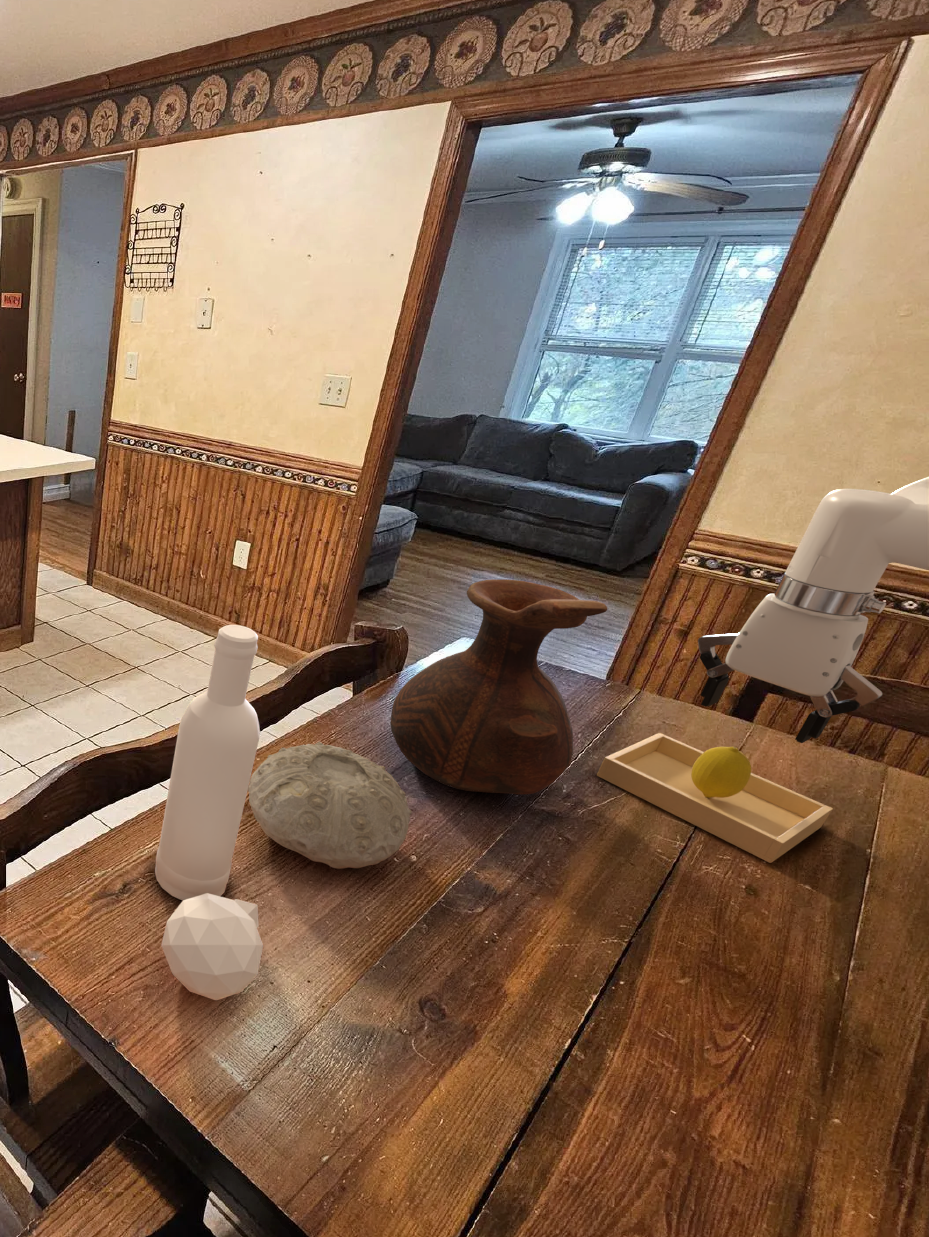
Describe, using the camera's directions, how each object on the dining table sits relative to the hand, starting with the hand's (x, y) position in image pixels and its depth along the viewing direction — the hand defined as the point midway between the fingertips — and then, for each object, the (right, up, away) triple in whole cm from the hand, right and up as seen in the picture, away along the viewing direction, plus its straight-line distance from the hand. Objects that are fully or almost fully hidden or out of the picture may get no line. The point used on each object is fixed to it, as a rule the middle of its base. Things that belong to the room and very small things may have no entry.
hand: (754, 721), depth 95 cm
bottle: (-75, -16, -13) cm, 78 cm away
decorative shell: (-58, -13, -5) cm, 60 cm away
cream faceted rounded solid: (-75, -22, -24) cm, 82 cm away
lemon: (-1, -11, +6) cm, 12 cm away
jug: (-32, -8, +9) cm, 34 cm away
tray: (-1, -11, +6) cm, 13 cm away
